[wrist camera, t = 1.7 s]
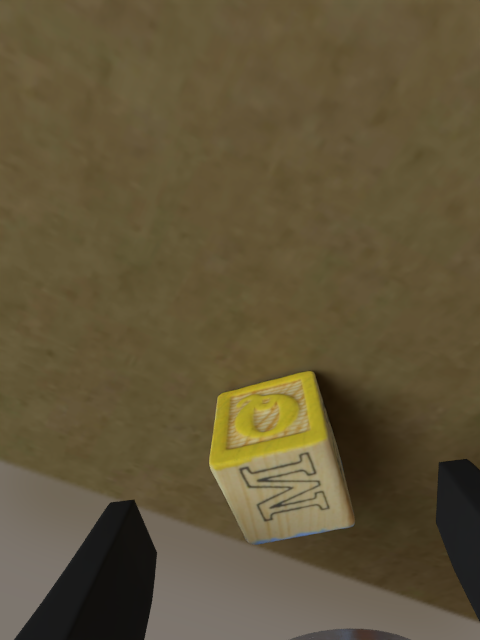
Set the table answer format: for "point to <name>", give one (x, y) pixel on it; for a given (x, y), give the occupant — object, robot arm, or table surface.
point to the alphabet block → (279, 460)
